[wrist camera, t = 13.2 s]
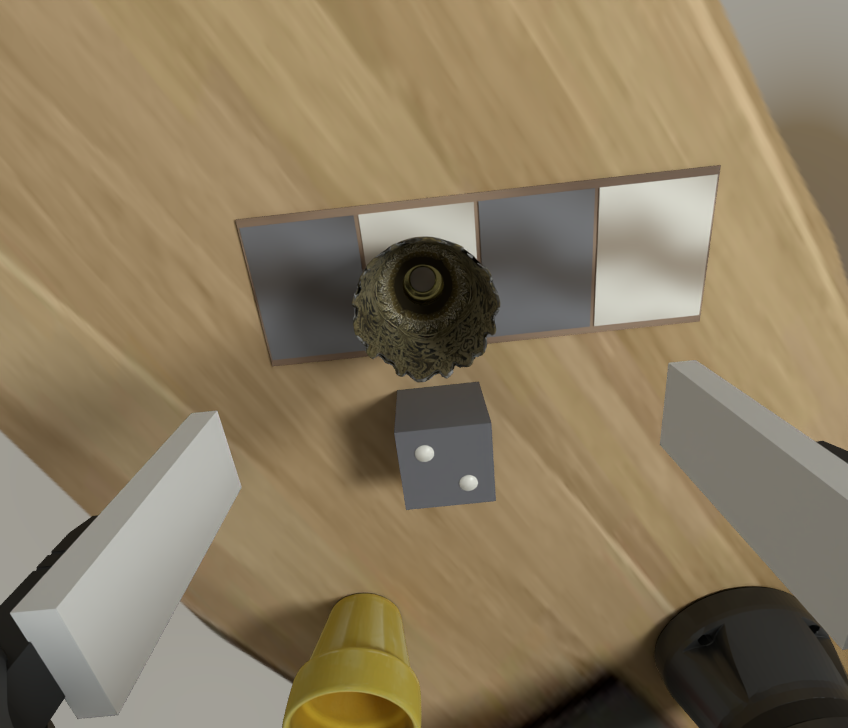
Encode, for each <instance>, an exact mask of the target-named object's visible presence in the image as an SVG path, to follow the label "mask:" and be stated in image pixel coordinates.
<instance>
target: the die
mask: <svg viewBox="0 0 848 728" xmlns="http://www.w3.org/2000/svg"><path fill="white" fill-rule="evenodd" d="M394 435H395V441H396V448H397V454H398V461H399V467H400V474H401V480H402V487H403V493H404V500H405V506H406V510H410V509H420V508H430V507H440V506H450V505H460V504H470V503H480V502H490V501H496V496H495V479H494V461H493V444H492V427H491V420H490V417H489V414H488V410H487V407H486V404H485V401H484V397H483V394H482V391H481V387H480V384H479V382H471V383H461V384H452V385H442V386H433V387H424V388H414V389H405V390H397V401H396V415H395V429H394Z"/></svg>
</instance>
